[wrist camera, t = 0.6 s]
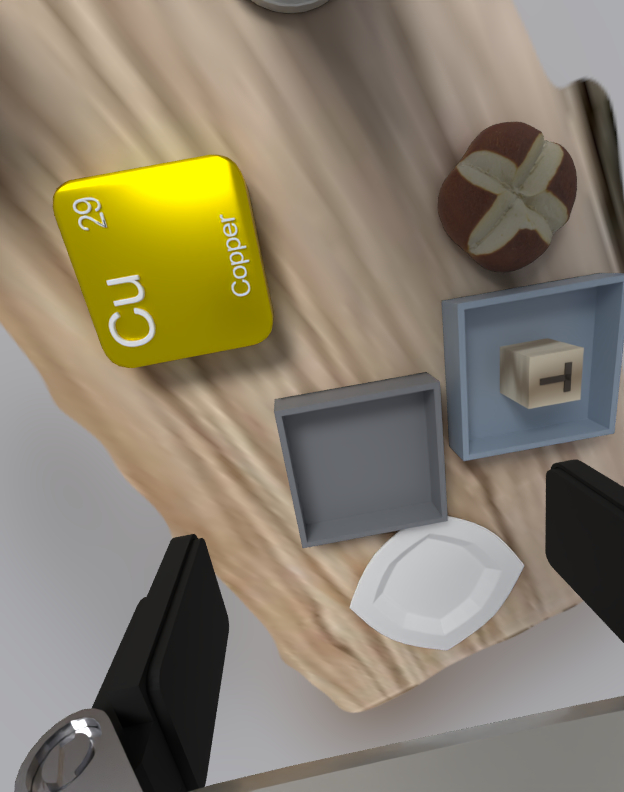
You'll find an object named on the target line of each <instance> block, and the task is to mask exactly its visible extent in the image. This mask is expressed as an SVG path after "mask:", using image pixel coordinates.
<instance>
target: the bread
mask: <svg viewBox="0 0 624 792" xmlns="http://www.w3.org/2000/svg"><path fill="white" fill-rule="evenodd" d="M576 191H577V176H576V169H575V166H574V163H573V160H572V158H571V156H570V154H569V153H568V152H567V150H566V149H565V148H564V147H562V146H561V145H560V144H557V143H553V142H549V141H547V140H544V136H543V134H542V132H540V131H539V130H537V129H535V128H534V127H532V126H530V125H527V124H525V123H522V122H506V123H500V124H495V125H493V126H490V127H488V128H486V129H485V130H483V131H482V132H481V133H480V134H479V135H478V136H477V137H476V138H475V139H474V141H473V142H472V143H471V145H470V146H469V148H468V150H467V151H466V153H465V155H464V156H463V158H462V160H461V161H460V162H459V163H458V165H456V167H455V168H454V169H453V170H452V172H451V173H450V174H449V175H448V177H447V178H446V180H445V181H444V183H443V185H442V187H441V189H440V193H439V197H438V211H439V216H440V219H441V222H442V225H443V227H444V229H445V231H446V232H447V233H448V235H449V236H450V238H451V239H452V240H453V241H454V242H455V243H457V244H458V245H459V246H460V247H461V248H462V249H464V250H465V251H466V252H467V253H468V254H470V256H471V257H472V258H473V259H474V260H475V261H476V262H477V263H478V264H480V265H481V266H482V267H484V268H486V269H488V270H491V271H495V272H509V271H514V270H517V269H520V268H522V267H525V266H526V265H528V264H530V263H532V262H533V261H534V260H536V259H537V258H538V257H539V256H540V255H542V253H543V252H544V251H545V250H546V249H547V248H548V246H549V245H550V243H551V238H552V235H554V233H555V232H556V231H557V230H558V229H560V228H561V227H562V226H563V225H564V224H565V223H566V222H567V221H568V219H569V217H570V213H571V210H572V207H573V204H574V201H575V197H576Z"/></svg>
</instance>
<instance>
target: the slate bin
mask: <svg viewBox="0 0 624 792" xmlns="http://www.w3.org/2000/svg"><path fill="white" fill-rule="evenodd" d="M442 317H443V336H444V355H445V375H446V394H447V413H448V433H449V446H450V447H451V448H452V449H453V450H454V451H455V453H456V454H457V455H458V456H459V457H460V458H461V459H462V460H463V461H467V460H472V459H478V458H483V457H489V456H494V455H499V454H505V453H510V452H516V451H521V450H527V449H532V448H537V447H543V446H548V445H554V444H559V443H565V442H570V441H576V440H581V439H586V438H592V437H597V436H603V435H608V434H614V431H615V422H616V412H617V402H618V392H619V382H620V372H621V363H622V353H623V343H624V273H597V274H591V275H586V276H580V277H574V278H568V279H563V280H557V281H551V282H546V283H540V284H534V285H528V286H523V287H517V288H511V289H506V290H500V291H494V292H488V293H483V294H477V295H471V296H466V297H460V298H454V299H449V300H443V301H442ZM546 338H549V339H553V340H556V341H560V342H564V343H568V344H571V345H575V346H579V347H583V348H584V353H583V368H582V382H581V397H580V400H575V401H570V402H564V403H559V404H553V405H548V406H542V407H537V408H531V409H528V408H526V407H524V406H522V405H521V404H519V403H517V402H515V401H514V400H512V399H510V398H508V397H507V396H505V395H503V394H501V393H500V347H501V346H506V345H512V344H518V343H523V342H529V341H534V340H540V339H546Z"/></svg>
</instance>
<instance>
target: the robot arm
mask: <svg viewBox="0 0 624 792" xmlns="http://www.w3.org/2000/svg"><path fill="white" fill-rule="evenodd" d="M251 1H252V2H254V3H256V4H257V5H259V6H262V7H264V8H267V9H269V10H272V11H276V12H283V13H298V12H306V11H308V10H311V9H314V8H317V7H320V6H321V5H323V4H324V3H326V2H327V1H329V0H251ZM545 551H546V557H547V559H548V562H549V563H550V565H551V566H552V567H553V568H554V570H555V571H556V572H557V573H558V574H559V575H560V576H561V577H562V578H563V579H564V580H565V581H566V582H567V583H568V584H569V585H570V586H571V588H572V589H573V590H574V591H575V592H576V593H577V594H578V595H579V596H580V597H581V598H582V599H583V600H584V601H585V602H586V603H587V605H588V606H589V607H590V608H591V609H592V610H593V611H594V612H595V613H596V614H597V615H598V616H599V617H600V618H601V619H602V620H603V621H604V622H605V623H606V625H607V626H608V627H609V628H610V629H611V630H612V631H613V632H614V633H615V634H616V635H617V636H618V637H619V638H620V639H621V641H622V642H623V643H624V487H623V486H621V485H619V484H618V483H616V482H614V481H613V480H611V479H610V478H608V477H606V476H605V475H603V474H601V473H600V472H598V471H596V470H595V469H593V468H591V467H590V466H588V465H586V464H585V463H583V462H581V461H579V460H570V461H564V462H559V463H555V464H553V465H552V467H551V470H549V471H547V473H546V550H545ZM228 633H229V621H228V615H227V612H226V608H225V605H224V602H223V599H222V595H221V592H220V589H219V585H218V582H217V579H216V575H215V572H214V569H213V566H212V562H211V559H210V556H209V553H208V549H207V546H206V543H205V540H204V539H203V538H200V539H198V538H197V536H196V535H195V534H191V535H186V536H180V537H175V538H173V539H172V540H171V541H170V544H169V546H168V548H167V551H166V553H165V555H164V558H163V560H162V563H161V565H160V567H159V569H158V572H157V574H156V576H155V579H154V581H153V583H152V586H151V588H150V590H149V593H148V595H147V597H144V598H143V599H142V600H140V602H139V604H138V605H137V607H136V610H135V612H134V614H133V617H132V619H131V621H130V623H129V625H128V628H127V630H126V632H125V634H124V637H123V639H122V641H121V643H120V646H119V648H118V650H117V653H116V655H115V657H114V659H113V662H112V664H111V666H110V668H109V670H108V673H107V675H106V677H105V679H104V682H103V684H102V686H101V688H100V691H99V693H98V695H97V697H96V700H95V702H94V704H93V706H92V709H84V710H81V711H78V712H76V713H74V714H71V715H69V716H67V717H66V718H64V719H63V720H61V721H60V722H58V723H57V724H55V725H54V726H53V727H52V728H51V729H50V730H49V731H47V732H46V733H45V734H44V735H43V736H42V737H41V738H40V739H39V741H38V742H37V743H36V744H35V745H34V747H33V748H32V749H31V750H30V752H29V753H28V755H27V757H26V758H25V760H24V762H23V763H22V765H21V767H20V769H19V773H18V775H17V778H16V781H15V791H14V792H624V696H621V697H616V698H611V699H606V700H601V701H596V702H592V703H586V704H581V705H576V706H571V707H567V708H562V709H557V710H553V711H547V712H543V713H538V714H533V715H528V716H523V717H518V718H514V719H509V720H504V721H499V722H494V723H490V724H485V725H480V726H475V727H471V728H466V729H461V730H456V731H451V732H447V733H442V734H437V735H432V736H428V737H423V738H418V739H414V740H409V741H404V742H400V743H395V744H390V745H386V746H381V747H376V748H372V749H367V750H363V751H358V752H353V753H349V754H344V755H339V756H335V757H330V758H325V759H321V760H316V761H312V762H307V763H302V764H298V765H293V766H289V767H285V768H281V769H277V770H272V771H268V772H264V773H260V774H255V775H251V776H247V777H243V778H238V779H235V780H230V781H226V782H222V783H218V784H213V785H210V786H206V787H205V783H206V778H207V772H208V765H209V759H210V752H211V745H212V738H213V732H214V726H215V719H216V712H217V706H218V699H219V692H220V686H221V679H222V673H223V666H224V660H225V652H226V646H227V640H228Z"/></svg>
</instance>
